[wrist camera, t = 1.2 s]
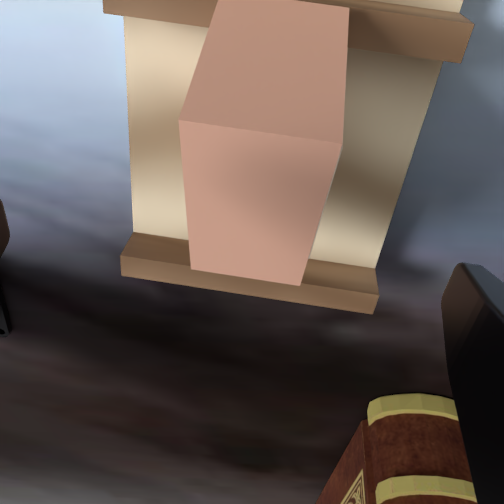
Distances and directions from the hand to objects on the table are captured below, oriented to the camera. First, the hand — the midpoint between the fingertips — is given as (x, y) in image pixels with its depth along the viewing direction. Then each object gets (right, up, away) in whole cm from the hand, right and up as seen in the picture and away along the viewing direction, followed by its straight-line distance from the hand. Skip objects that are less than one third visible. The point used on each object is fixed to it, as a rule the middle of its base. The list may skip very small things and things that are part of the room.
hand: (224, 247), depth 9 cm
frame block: (+1, +6, +8) cm, 10 cm away
